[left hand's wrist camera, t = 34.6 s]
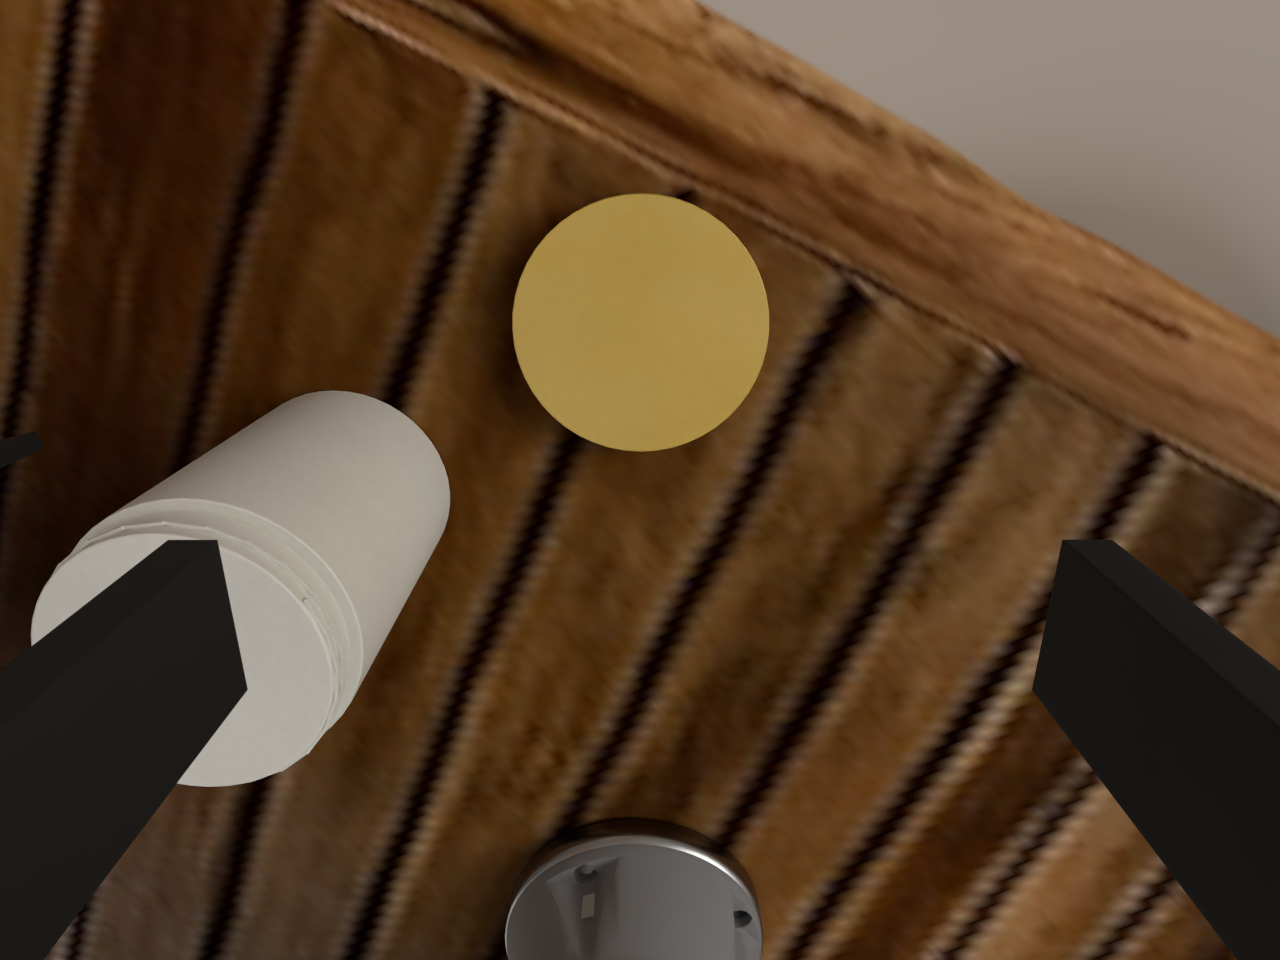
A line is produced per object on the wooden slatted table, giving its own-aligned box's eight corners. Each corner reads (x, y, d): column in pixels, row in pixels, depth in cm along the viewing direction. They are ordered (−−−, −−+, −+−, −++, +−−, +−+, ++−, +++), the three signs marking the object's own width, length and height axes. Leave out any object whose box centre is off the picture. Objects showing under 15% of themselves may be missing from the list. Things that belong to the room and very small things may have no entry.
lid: (701, 471, 40) (704, 486, 38) (485, 385, 38) (477, 396, 36) (804, 254, 36) (814, 258, 34) (570, 149, 35) (566, 148, 33)
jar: (309, 608, 42) (139, 832, 28) (202, 436, 39) (-54, 590, 25) (485, 541, 41) (401, 741, 27) (389, 357, 38) (234, 472, 23)
